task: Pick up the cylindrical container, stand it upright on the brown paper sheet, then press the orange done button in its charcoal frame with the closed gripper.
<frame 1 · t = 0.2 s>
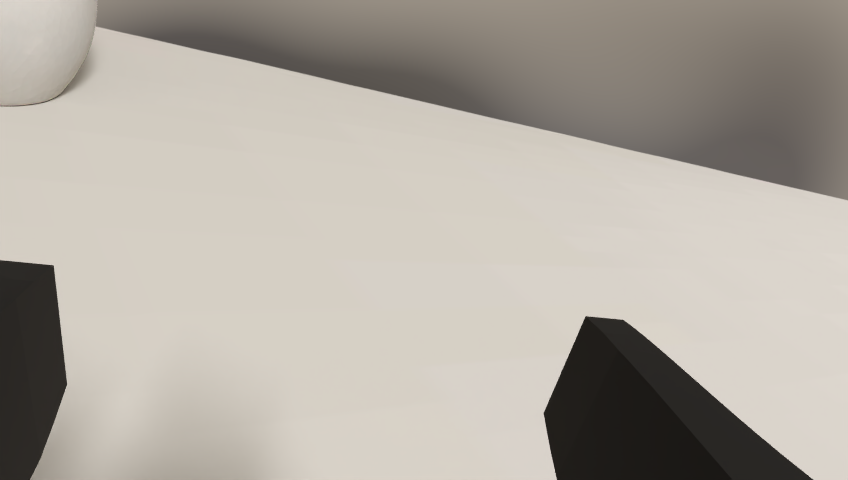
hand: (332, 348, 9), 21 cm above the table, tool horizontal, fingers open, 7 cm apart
pitcher: (11, 74, 64), on the table
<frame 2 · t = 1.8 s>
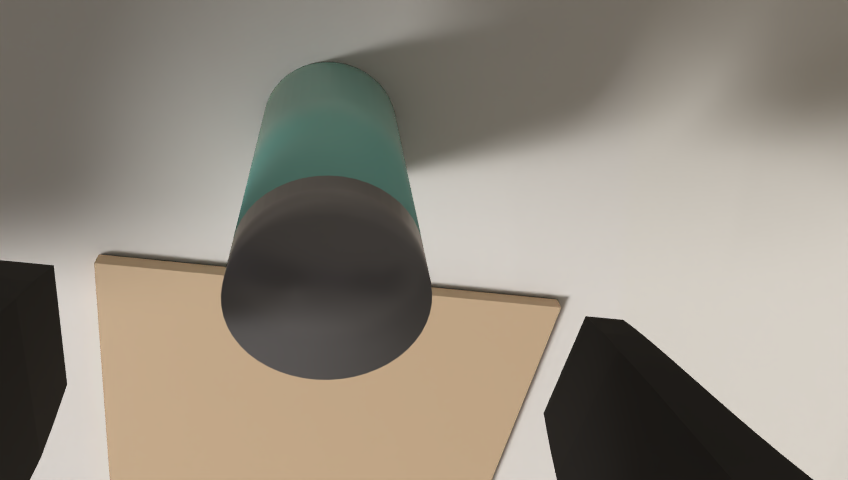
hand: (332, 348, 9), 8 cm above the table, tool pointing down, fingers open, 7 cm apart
cylindrical container: (330, 126, 16), on the table
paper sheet: (317, 433, 21), on the table
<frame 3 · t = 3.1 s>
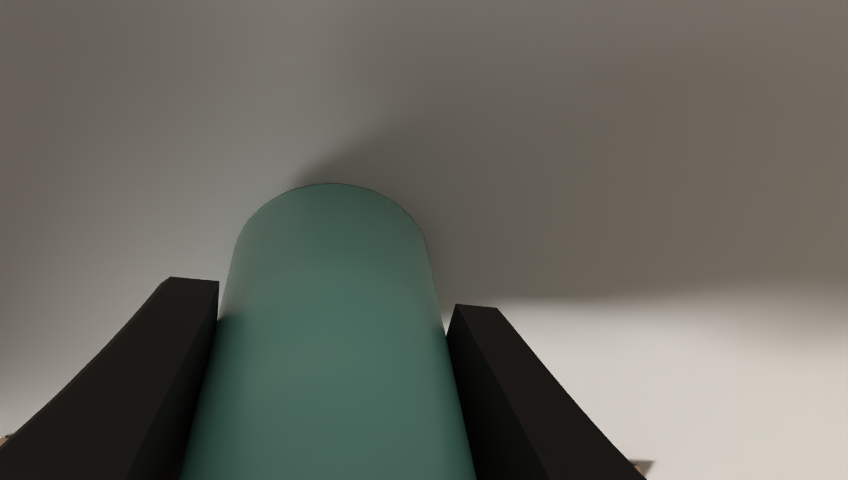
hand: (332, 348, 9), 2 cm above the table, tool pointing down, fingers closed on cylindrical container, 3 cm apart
cylindrical container: (332, 269, 11), on the table, touching gripper
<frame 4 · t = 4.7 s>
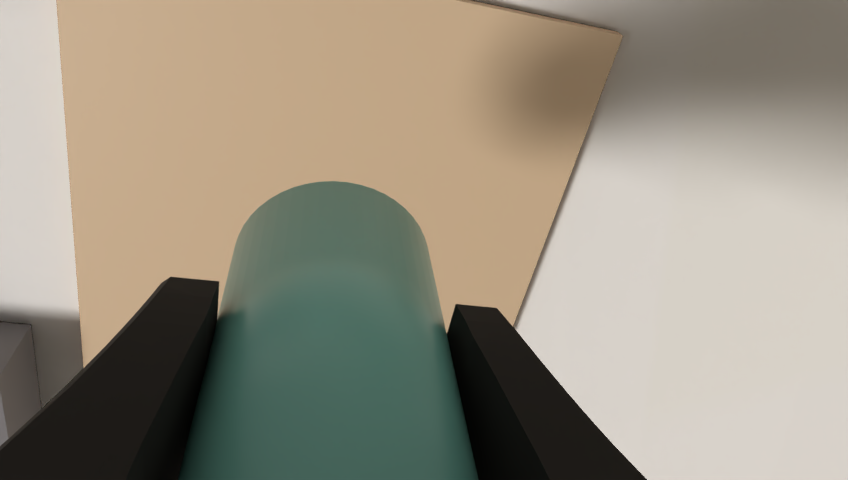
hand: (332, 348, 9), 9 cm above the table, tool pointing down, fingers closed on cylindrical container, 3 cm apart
cylindrical container: (333, 267, 11), point 7 cm above the table, touching gripper
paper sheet: (324, 216, 18), on the table
when the fingers open (4 cm above the table, at t = 6.2 s): cylindrical container drops 1 cm, resting on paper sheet.
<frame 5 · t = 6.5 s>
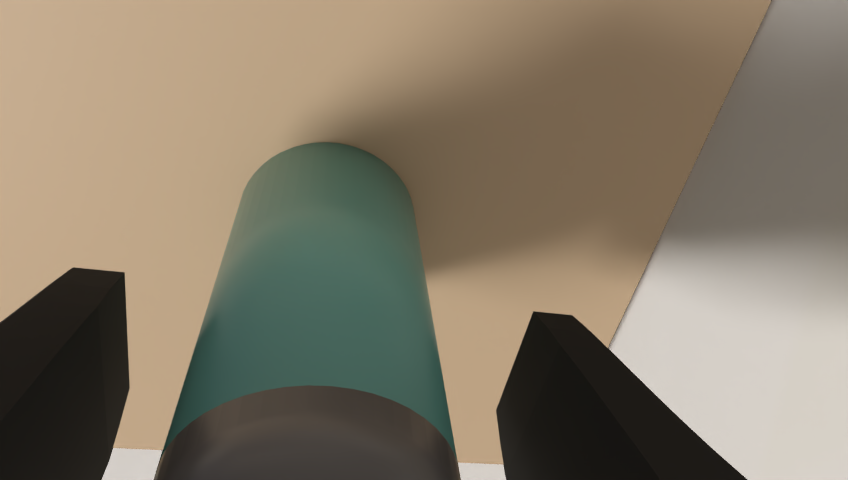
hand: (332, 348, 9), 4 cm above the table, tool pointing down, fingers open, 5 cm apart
cylindrical container: (328, 223, 12), resting on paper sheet
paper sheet: (333, 212, 12), on the table
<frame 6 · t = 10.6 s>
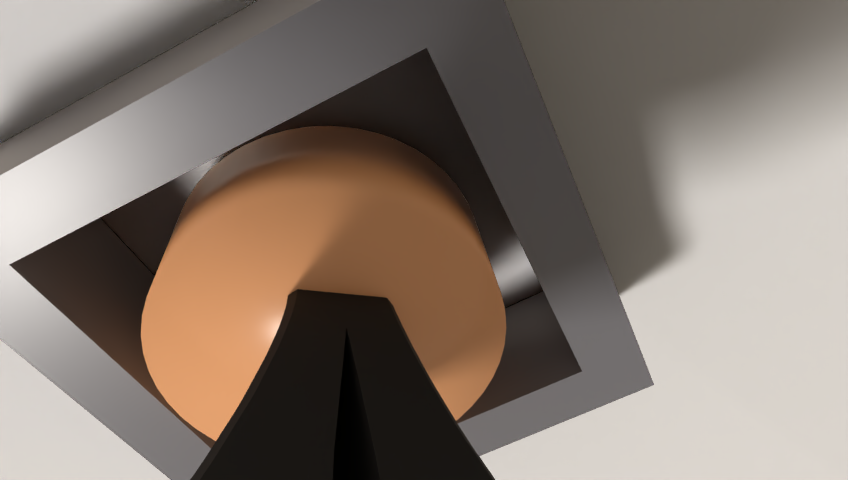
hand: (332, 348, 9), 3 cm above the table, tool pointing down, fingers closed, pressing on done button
button frame: (331, 243, 11), on the table
done button: (331, 304, 10), point 2 cm above the table, slide at 0.6 cm, touching gripper
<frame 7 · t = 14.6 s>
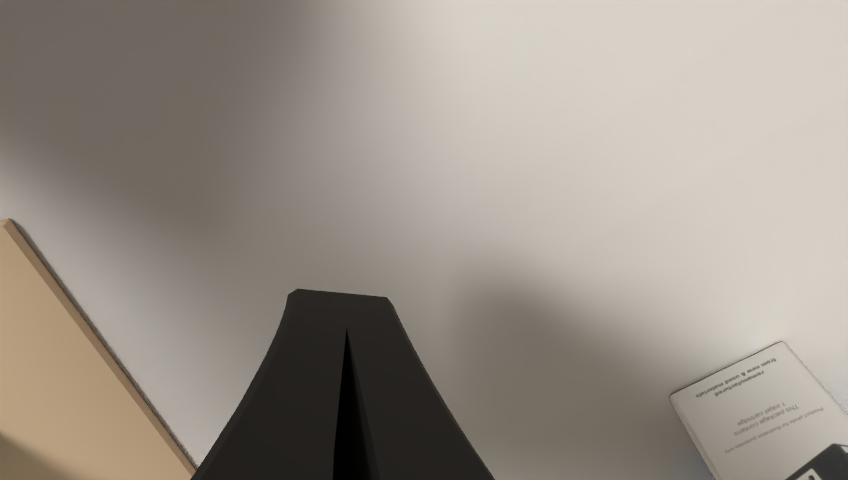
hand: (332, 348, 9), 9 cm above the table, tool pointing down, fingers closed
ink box: (751, 419, 26), on the table
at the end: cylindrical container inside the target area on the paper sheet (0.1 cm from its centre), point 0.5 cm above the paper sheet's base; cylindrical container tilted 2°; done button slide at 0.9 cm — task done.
